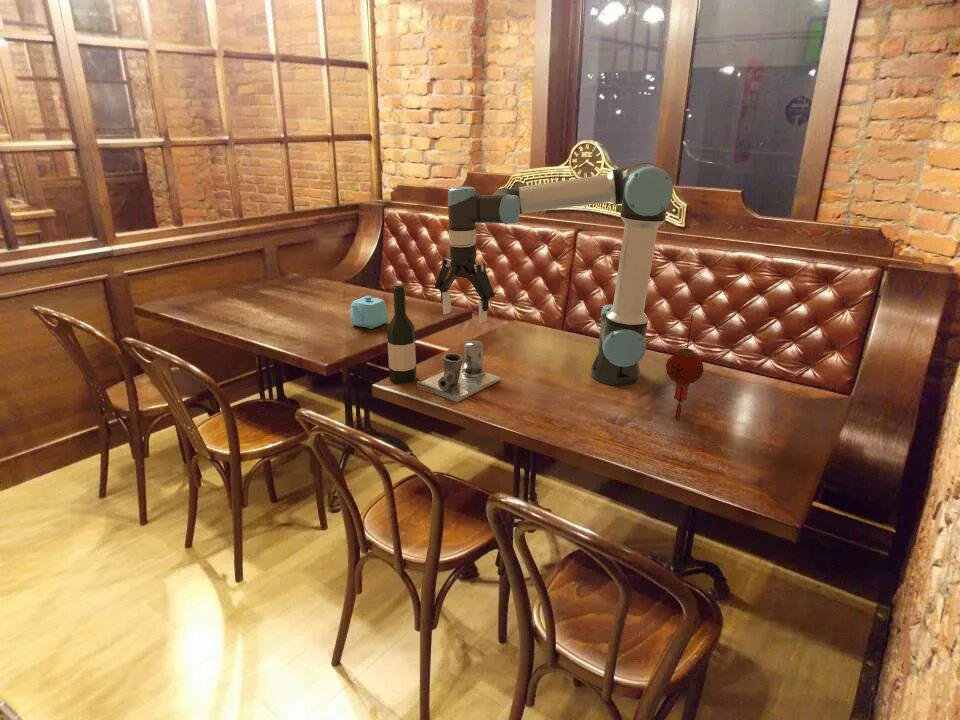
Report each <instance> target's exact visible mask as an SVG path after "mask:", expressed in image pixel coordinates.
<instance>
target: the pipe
mask: <svg viewBox="0 0 960 720" xmlns="http://www.w3.org/2000/svg"><path fill="white" fill-rule="evenodd" d="M442 359H443V360H442V361H443V372H444V376H443V377H441V378H440V379H439V380H438V384H439V388H440V389H442V390H445V389H447V388H448V387H449V386H450V385H451V384H456V383H457V382H458V381H459V376H460V370H461V366H462V365H463V361H464V355H462V354H460V353H453V352H452V353H447V354H445V355H443V356H442Z"/></svg>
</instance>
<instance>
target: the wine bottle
mask: <svg viewBox="0 0 960 720" xmlns="http://www.w3.org/2000/svg"><path fill="white" fill-rule="evenodd" d="M392 289H393V290H392V291H393V309H394V315H393V318H392V319H391V321H390V322H389V325H388V327H387V328H386V334H387V335H386V337H387V353H388V355H387V356H388V371H389V373H388V374H389V376H388V377H389V381H390V382H393V383H394V384H401V385H405V384H410V383H413V382H415V380H416V379H417V360H416V359H417V358H416V357H417V355H416V333H415V332H416V330H415V325H414V324H413V322H412V321H411V320H410V318H409V316H408V315H407V309H406V308H407V306H406V305H407V304H406V287H405V286H404V284H403V283H396V284H394V286H393V288H392Z"/></svg>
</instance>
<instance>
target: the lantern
mask: <svg viewBox="0 0 960 720" xmlns="http://www.w3.org/2000/svg"><path fill="white" fill-rule="evenodd" d="M692 322H693V313H691V316H690V323H689V329H688V331H689V332H688V337H687V346H686V348H681V349H680V351H678V352H677V353H674V354H673V355H672V356H671V357H669V358H668V359H667V362H666V364H665V366H666V367H665V368H666V369H665V370H666V374H667V375H668V377H669V378H670V379H671V381H673V382H675V388H674V397H673V399H674V400H675V401H677V404H676V409H675V417H674V420H675V419H676V420H675V421H680V419H681V414H682V413H681V412H682V407H683V406H682V404H681V403H683V402H685V401H687V399H688V392H689V391H688V390H689V386H690V384H693V383H696V382H697V381H698V380H700V378H702V375H703V373H704V371H705V370H704V363H703V360H701V358H700V356H699V355H698V356H697V355H696V354H695V351H694V350H693V349H690V348H689V343H690V336H691V328H692Z"/></svg>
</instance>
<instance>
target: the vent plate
mask: <svg viewBox="0 0 960 720" xmlns="http://www.w3.org/2000/svg"><path fill="white" fill-rule="evenodd" d="M483 345H484V344H483V341H480V340H476V339H470V340H466V341H465V342H464V347H463V348H464V349H463V351H464V355H463V358H464V359H463V361H464V364H462V366H461V370H460V376H459V381H458V382H457V383H456V384H451V385H450V386H449V387H448V388H447V389H445V390H442V389H440V388H439V384H438V380H439V379H440V378H441V377H443V376H444V371H442V372H440V373H437V374H436V375H432V376H431V377H429V378H427V379H424V380H422V381H419V380H418V381H417V382H416V387H417V388H418V389H420V390H423V391H426V392H428V393H431V394H433V395H436V396H439V397H441V398H445V399H447V400H450V401H454V402H456V403H459V402H461V401H462V400H465V399H466V398H468V397H470V396H472V395H474V394H476V393H478V392H480V391H482V390H484V389H486V388H488V387H489V386H492V385H494V384H495V383H497V382H500V379H501V378H500V376H497V375H495V374H492V373H489V372H486V370H485V369H484V368H483V361H484V360H483V356H484V355H483V354H484V353H483V352H484V350H483V347H484V346H483Z"/></svg>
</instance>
